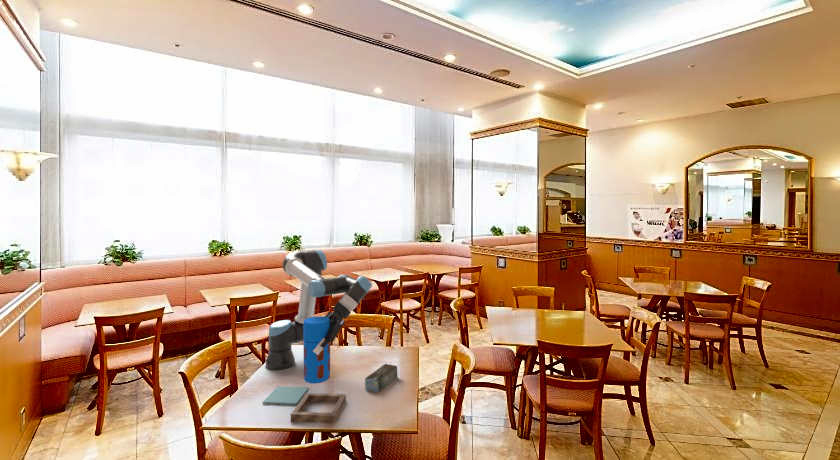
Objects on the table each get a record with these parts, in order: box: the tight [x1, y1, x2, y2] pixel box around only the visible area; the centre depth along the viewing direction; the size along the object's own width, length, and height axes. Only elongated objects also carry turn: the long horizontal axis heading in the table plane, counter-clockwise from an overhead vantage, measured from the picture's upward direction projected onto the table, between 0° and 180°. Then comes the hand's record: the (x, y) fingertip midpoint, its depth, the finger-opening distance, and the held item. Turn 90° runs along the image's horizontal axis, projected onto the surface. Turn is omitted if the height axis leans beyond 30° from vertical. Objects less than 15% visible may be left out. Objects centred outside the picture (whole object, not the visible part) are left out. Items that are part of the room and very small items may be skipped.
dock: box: [290, 392, 347, 424], centre depth 161 cm, size 18×18×3 cm
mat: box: [262, 385, 309, 406], centre depth 173 cm, size 15×15×1 cm
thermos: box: [303, 315, 331, 384], centre depth 160 cm, size 11×11×25 cm
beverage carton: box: [364, 363, 398, 393], centre depth 187 cm, size 8×19×7 cm, turn 155°
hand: (310, 348), depth 159 cm, fingers closed on thermos, 11 cm apart
